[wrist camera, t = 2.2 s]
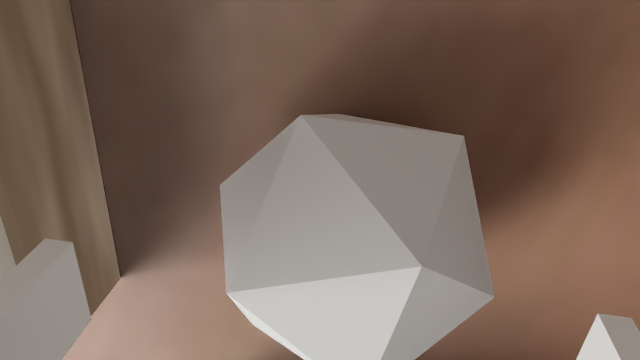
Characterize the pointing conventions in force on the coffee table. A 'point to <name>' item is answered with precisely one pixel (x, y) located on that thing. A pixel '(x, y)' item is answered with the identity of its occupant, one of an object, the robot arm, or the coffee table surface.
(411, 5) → the coffee table surface
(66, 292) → the robot arm
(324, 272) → the die
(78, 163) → the chevron patterned box
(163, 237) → the coffee table surface
